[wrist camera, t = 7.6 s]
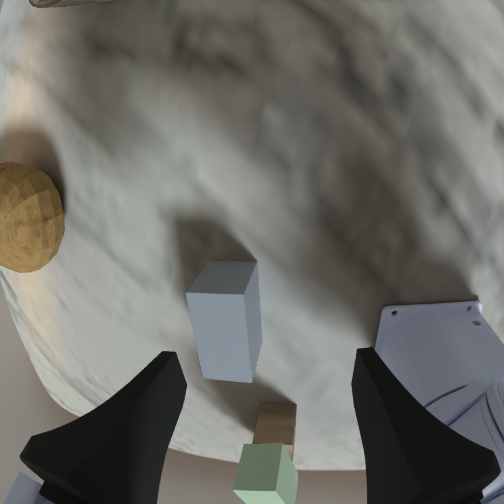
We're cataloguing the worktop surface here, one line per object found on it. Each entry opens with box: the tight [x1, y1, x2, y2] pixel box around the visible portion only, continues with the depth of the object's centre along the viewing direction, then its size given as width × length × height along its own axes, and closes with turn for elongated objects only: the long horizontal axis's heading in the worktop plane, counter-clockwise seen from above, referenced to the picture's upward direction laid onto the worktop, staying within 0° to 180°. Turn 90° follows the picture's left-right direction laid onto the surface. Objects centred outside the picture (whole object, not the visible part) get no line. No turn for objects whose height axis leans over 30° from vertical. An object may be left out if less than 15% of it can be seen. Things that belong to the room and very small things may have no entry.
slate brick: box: [186, 261, 262, 383], centre depth 20 cm, size 7×4×5 cm, turn 4°
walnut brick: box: [252, 403, 297, 461], centre depth 25 cm, size 7×4×5 cm, turn 4°
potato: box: [0, 162, 65, 273], centre depth 19 cm, size 10×14×8 cm
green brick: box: [233, 442, 298, 504], centre depth 20 cm, size 7×4×5 cm, turn 17°
